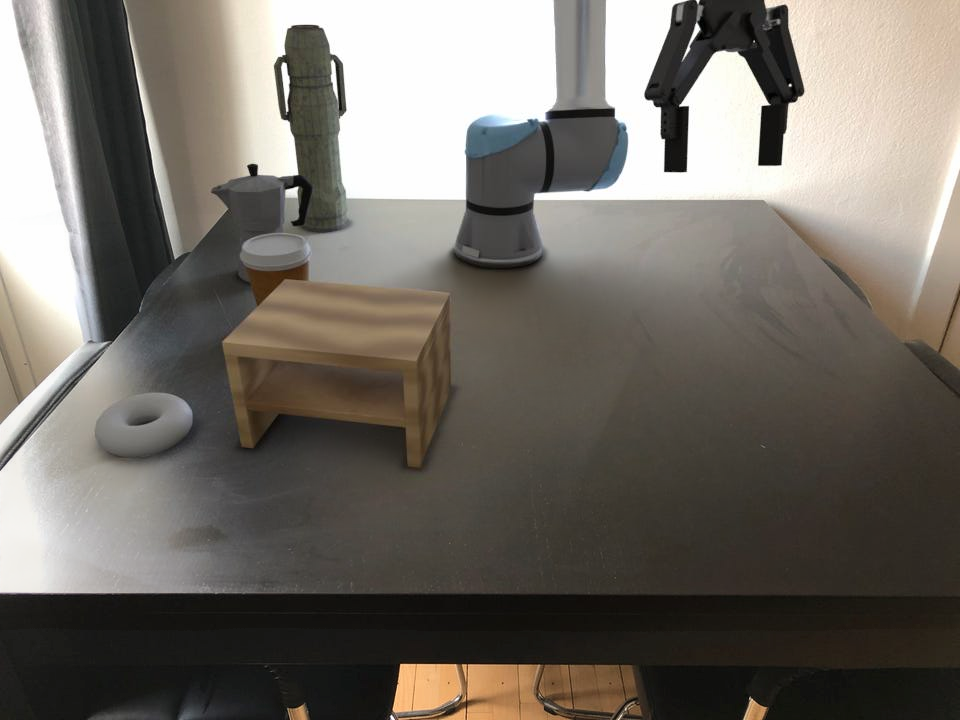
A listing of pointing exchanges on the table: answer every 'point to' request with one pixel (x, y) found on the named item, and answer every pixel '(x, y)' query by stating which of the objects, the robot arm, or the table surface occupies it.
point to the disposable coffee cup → (275, 261)
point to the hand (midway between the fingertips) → (724, 169)
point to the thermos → (315, 122)
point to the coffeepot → (261, 204)
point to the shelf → (343, 359)
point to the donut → (131, 440)
